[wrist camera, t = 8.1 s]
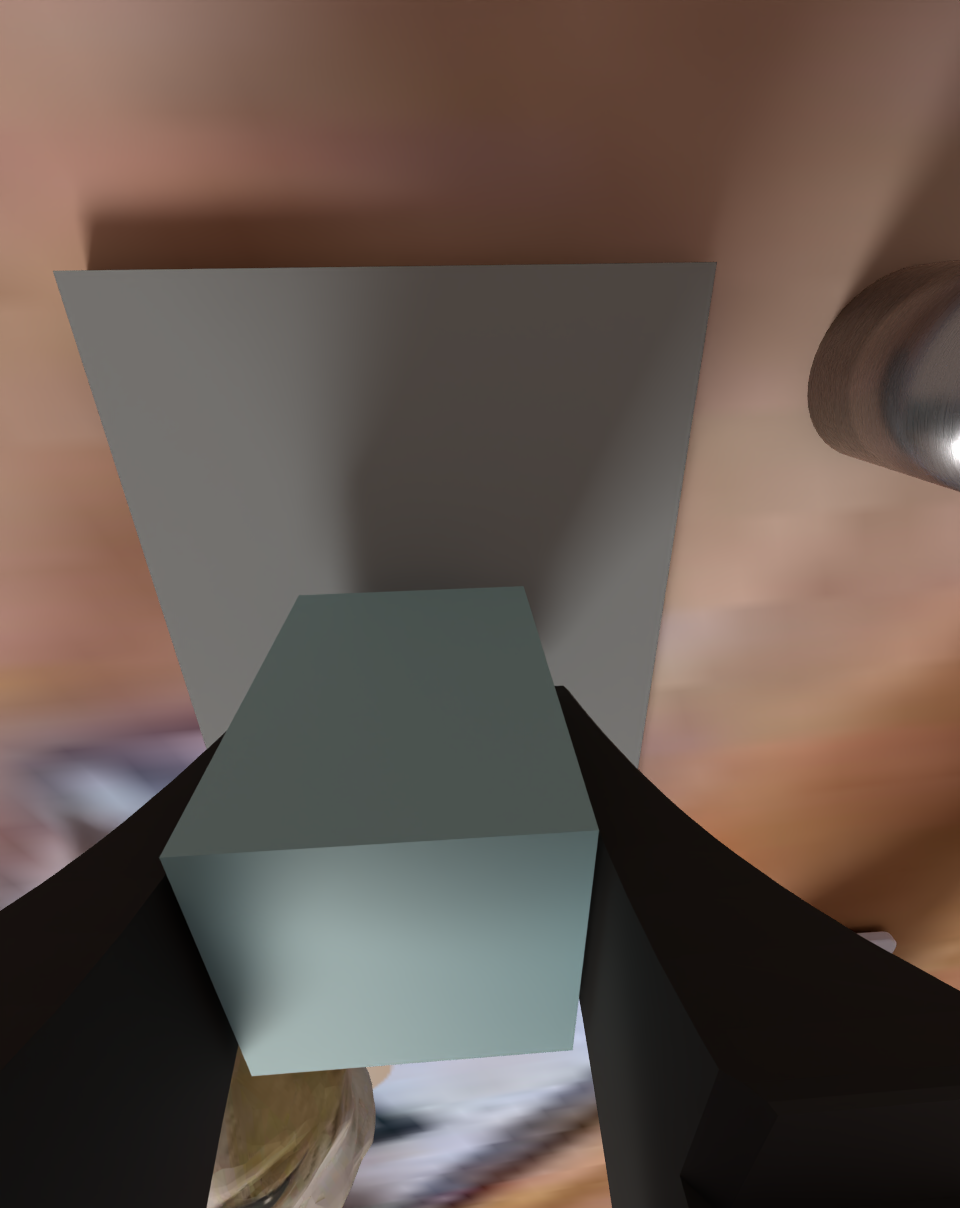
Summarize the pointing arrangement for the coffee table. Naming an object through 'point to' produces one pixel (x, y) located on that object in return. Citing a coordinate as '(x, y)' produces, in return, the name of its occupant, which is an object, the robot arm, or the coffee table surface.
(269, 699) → the teal block
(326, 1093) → the ceramic sculpture
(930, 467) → the grey metal ball
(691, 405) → the slate mat
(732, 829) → the coffee table surface
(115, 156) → the coffee table surface
